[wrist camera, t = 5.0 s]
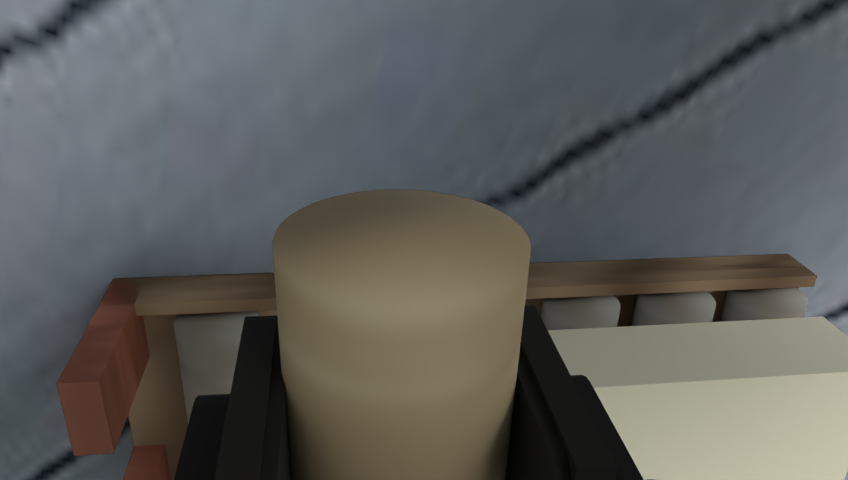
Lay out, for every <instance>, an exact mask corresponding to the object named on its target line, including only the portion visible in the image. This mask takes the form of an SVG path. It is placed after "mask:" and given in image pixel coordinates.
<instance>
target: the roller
mask: <svg viewBox="0 0 848 480" xmlns="http://www.w3.org/2000/svg"><path fill="white" fill-rule="evenodd" d="M530 254H531V244H530V240H529V238H528V236H527V234H526V232H525V231H524V230H523V228H522V227H521V226H520V225H519V224H518V223H517V222H516V221H515V220H513V219H512V218H510V217H509V216H508V215H506V214H504V213H503V212H501V211H499V210H497V209H495V208H493V207H491V206H488V205H486V204H483V203H480V202H478V201H475V200H471V199H468V198H464V197H460V196H456V195H451V194H446V193H439V192H432V191H423V190H408V189H388V190H372V191H362V192H355V193H349V194H344V195H339V196H335V197H331V198H328V199H324V200H321V201H319V202H316V203H313V204H311V205H309V206H306V207H304V208H302V209H300V210H299V211H297V212H295V213H294V214H292V215H291V216H290V217H288V218H287V219H286V220H285V221H284V222H283V223H282V224H281V225H280V226H279V227H278V229H277V231H276V232H275V234H274V238H273V261H274V275H275V289H276V303H277V317H278V331H279V345H280V358H281V372H282V377H283V381H284V384H285V393H286V408H287V423H288V437H289V452H290V466H291V480H505V478H506V469H507V460H508V451H509V442H510V433H511V424H512V415H513V406H514V397H515V388H516V379H517V371H518V362H519V353H520V344H521V335H522V326H523V317H524V308H525V299H526V290H527V281H528V272H529V263H530Z"/></svg>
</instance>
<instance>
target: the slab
mask: <svg viewBox="0 0 848 480" xmlns="http://www.w3.org/2000/svg"><path fill="white" fill-rule="evenodd" d="M548 332H549V334H550V336H551V338H552V340H553V342H554V344H555V346H556V348H557V350H558V352H559V354H560V356H561V357H562V359H563V361H564V363H565V365H566V367H567V369H568V371H569V373H570V375H584V376H586V377H587V378H588V380H589V381H590V382H591V384H592V386H593V388H594V390H595V392H596V393H597V395H598V397H599V399H600V401H601V403H602V404H603V406H604V408H605V410H606V412H607V413H608V415H609V417H610V419H611V421H612V423H613V424H614V426H615V428H616V430H617V432H618V434H619V435H620V437H621V439H622V441H623V443H624V445H625V446H626V448H627V450H628V452H629V454H630V456H631V457H632V459H633V461H634V463H635V465H636V466H637V468H638V470H639V472H640V474H641V476H642V477H643V479H644V480H647V479H655V480H844V478H845V476H846V473H847V471H848V337H847V336H846V335H845V334H843V333H842V332H841V331H840V330H839V329H837V328H836V327H835V326H834V325H832V324H831V323H830V322H829V321H828V320H826V319H825V318H824V317H803V318H783V319H763V320H743V321H723V322H703V323H684V324H664V325H644V326H624V327H604V328H584V329H564V330H548Z"/></svg>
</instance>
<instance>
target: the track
mask: <svg viewBox="0 0 848 480" xmlns="http://www.w3.org/2000/svg"><path fill="white" fill-rule="evenodd" d="M816 278H817V275H815V274H814V273H813V272H811V271H810V270H809V269H807V268H806V267H805V266H803V265H802V264H801V263H799V262H798V261H797V260H795V259H794V258H792V257H791V256H790V255H788V254H774V255H746V256H719V257H692V258H664V259H637V260H609V261H582V262H555V263H529V272H528V281H527V290H526V299H525V305H534V306H535V307H536V309H537V311H538V313H539V315H540V317H541V319H542V321H543V322H544V324H545V326H546V328H547V330H564V329H584V328H604V327H624V326H644V325H664V324H684V323H703V322H723V321H743V320H763V319H783V318H803V317H804V316H805V312H806V309H807V306H808V298H807V296H806V295H805V294H804V293H803V292H802V291H800V290H799V289H798V288H799V287H814V284H815V281H816ZM271 315H277V303H276V289H275V275H274V273H254V274H227V275H199V276H172V277H145V278H117V279H113V281H112V282H111V284H110V286H109V288H108V290H107V292H106V293H105V295H104V297H103V299H102V301H101V303H100V305H99V306H98V308H97V310H96V312H95V314H94V316H93V317H92V319H91V321H90V323H89V325H88V327H87V328H86V330H85V332H84V334H83V336H82V338H81V340H80V341H79V343H78V345H77V347H76V349H75V351H74V352H73V354H72V356H71V358H70V360H69V362H68V364H67V365H66V367H65V369H64V371H63V373H62V375H61V376H60V378H59V380H58V382H57V388H58V392H59V396H60V400H61V405H62V409H63V413H64V417H65V421H66V425H67V429H68V433H69V437H70V442H71V446H72V450H73V454H74V456H79V455H94V454H108V453H114V452H115V449H116V446H117V444H118V441H119V438H120V435H121V433H122V430H123V427H124V425H125V422H126V419H127V416H128V417H129V422H130V427H131V432H132V437H133V443H134V449H133V452H132V455H131V457H130V460H129V463H128V466H127V469H126V472H125V475H124V478H123V480H174V477H175V473H176V469H177V466H178V462H179V458H180V454H181V450H182V446H183V442H184V438H185V435H186V431H187V427H188V423H189V419H190V415H191V411H192V407H193V404H194V401H195V398H196V397H197V396H198V395H216V394H230V392H231V387H232V382H233V376H234V371H235V366H236V361H237V355H238V350H239V345H240V339H241V334H242V329H243V324H244V319H245V317H246V316H271Z"/></svg>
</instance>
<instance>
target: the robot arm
mask: <svg viewBox="0 0 848 480" xmlns="http://www.w3.org/2000/svg"><path fill="white" fill-rule="evenodd" d="M174 480H291V466H290V452H289V437H288V423H287V408H286V393H285V384H284V381H283V377H282V372H281V358H280V345H279V331H278V317H277V315H271V316H246V317H245V319H244V324H243V329H242V334H241V339H240V345H239V350H238V355H237V361H236V366H235V371H234V376H233V382H232V387H231V392H230V394H216V395H198V396H197V397H196V398H195V401H194V404H193V407H192V411H191V415H190V419H189V423H188V427H187V431H186V435H185V438H184V442H183V446H182V450H181V454H180V458H179V462H178V466H177V469H176V473H175V477H174ZM505 480H644V479H643V477H642V476H641V474H640V472H639V470H638V468H637V466H636V465H635V463H634V461H633V459H632V457H631V456H630V454H629V452H628V450H627V448H626V446H625V445H624V443H623V441H622V439H621V437H620V435H619V434H618V432H617V430H616V428H615V426H614V424H613V423H612V421H611V419H610V417H609V415H608V413H607V412H606V410H605V408H604V406H603V404H602V403H601V401H600V399H599V397H598V395H597V393H596V392H595V390H594V388H593V386H592V384H591V382H590V381H589V380H588V378H587V377H586V376H584V375H570V373H569V371H568V369H567V367H566V365H565V363H564V361H563V359H562V357H561V356H560V354H559V352H558V350H557V348H556V346H555V344H554V342H553V340H552V338H551V336H550V334H549V332H548V330H547V328H546V326H545V324H544V322H543V321H542V319H541V317H540V315H539V313H538V311H537V309H536V307H535V306H534V305H525V308H524V317H523V326H522V335H521V344H520V353H519V362H518V371H517V379H516V388H515V397H514V406H513V415H512V424H511V433H510V442H509V451H508V460H507V469H506V478H505ZM647 480H655V479H647Z"/></svg>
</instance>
